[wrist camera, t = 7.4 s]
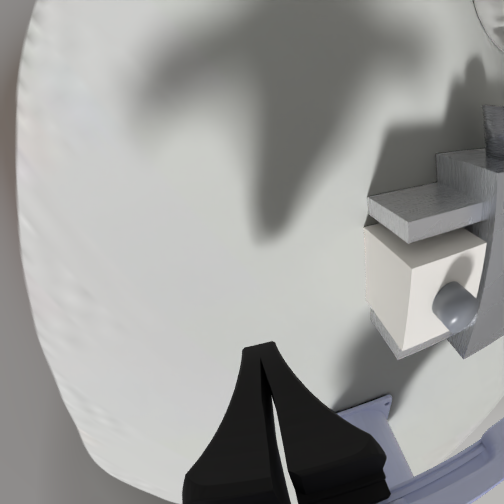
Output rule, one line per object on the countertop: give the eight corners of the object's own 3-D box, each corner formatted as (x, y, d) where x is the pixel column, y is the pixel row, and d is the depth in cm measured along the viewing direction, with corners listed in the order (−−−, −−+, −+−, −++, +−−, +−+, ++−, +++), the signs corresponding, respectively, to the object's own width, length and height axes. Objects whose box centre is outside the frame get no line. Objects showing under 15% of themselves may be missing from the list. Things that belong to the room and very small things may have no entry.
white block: (427, 278, 18) (485, 335, 12) (365, 299, 18) (415, 370, 12) (431, 209, 16) (506, 255, 10) (363, 226, 16) (431, 287, 10)
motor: (487, 289, 20) (523, 321, 15) (370, 338, 20) (401, 389, 15) (498, 104, 13) (553, 114, 9) (355, 107, 13) (414, 108, 9)
